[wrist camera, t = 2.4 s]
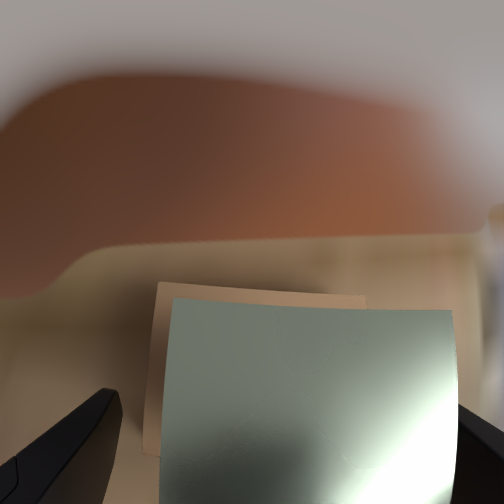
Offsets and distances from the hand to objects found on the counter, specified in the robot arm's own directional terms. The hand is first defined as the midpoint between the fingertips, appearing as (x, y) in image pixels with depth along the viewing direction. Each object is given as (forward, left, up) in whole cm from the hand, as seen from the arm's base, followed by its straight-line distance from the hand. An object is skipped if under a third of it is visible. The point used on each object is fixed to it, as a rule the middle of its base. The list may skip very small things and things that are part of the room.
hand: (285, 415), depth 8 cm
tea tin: (0, 0, -5) cm, 5 cm away
